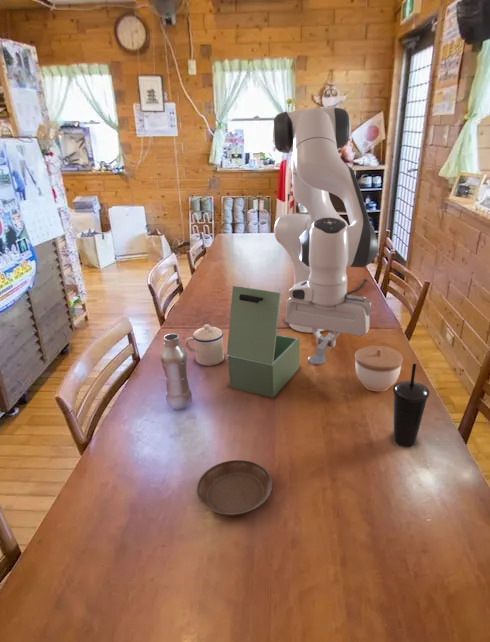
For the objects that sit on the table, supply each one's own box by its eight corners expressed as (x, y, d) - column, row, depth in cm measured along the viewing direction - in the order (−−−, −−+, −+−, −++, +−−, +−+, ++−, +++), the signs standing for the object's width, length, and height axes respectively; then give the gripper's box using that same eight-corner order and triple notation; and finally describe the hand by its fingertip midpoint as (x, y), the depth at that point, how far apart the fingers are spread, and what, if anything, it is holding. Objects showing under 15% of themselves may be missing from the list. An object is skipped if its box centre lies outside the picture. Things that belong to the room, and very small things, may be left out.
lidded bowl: (344, 385, 126) (346, 350, 122) (369, 368, 135) (371, 335, 130) (384, 402, 118) (388, 365, 114) (407, 383, 127) (412, 348, 122)
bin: (258, 359, 141) (257, 330, 137) (299, 368, 136) (299, 338, 131) (229, 386, 127) (227, 355, 122) (273, 397, 121) (272, 366, 117)
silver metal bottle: (197, 401, 120) (190, 333, 112) (182, 415, 115) (173, 344, 106) (177, 396, 123) (168, 329, 114) (162, 409, 117) (151, 340, 109)
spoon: (324, 341, 116) (324, 331, 114) (339, 344, 114) (339, 334, 113) (305, 364, 106) (305, 353, 104) (321, 367, 104) (322, 357, 103)
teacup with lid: (227, 353, 145) (225, 319, 140) (221, 367, 137) (218, 332, 132) (191, 351, 146) (187, 318, 141) (182, 365, 138) (178, 330, 133)
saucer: (204, 468, 97) (203, 458, 96) (273, 469, 97) (273, 459, 96) (191, 524, 84) (189, 513, 83) (270, 525, 83) (270, 514, 82)
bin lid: (234, 285, 119) (225, 286, 115) (281, 292, 114) (273, 293, 110) (228, 354, 123) (219, 357, 119) (273, 364, 117) (265, 367, 113)
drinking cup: (422, 433, 107) (433, 358, 98) (420, 454, 100) (432, 376, 92) (389, 427, 109) (397, 353, 100) (385, 446, 103) (394, 370, 94)
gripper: (375, 293, 103) (371, 346, 109) (292, 281, 111) (293, 332, 117) (368, 302, 98) (364, 358, 104) (282, 290, 106) (282, 342, 112)
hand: (325, 344), depth 111 cm, fingers closed on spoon
